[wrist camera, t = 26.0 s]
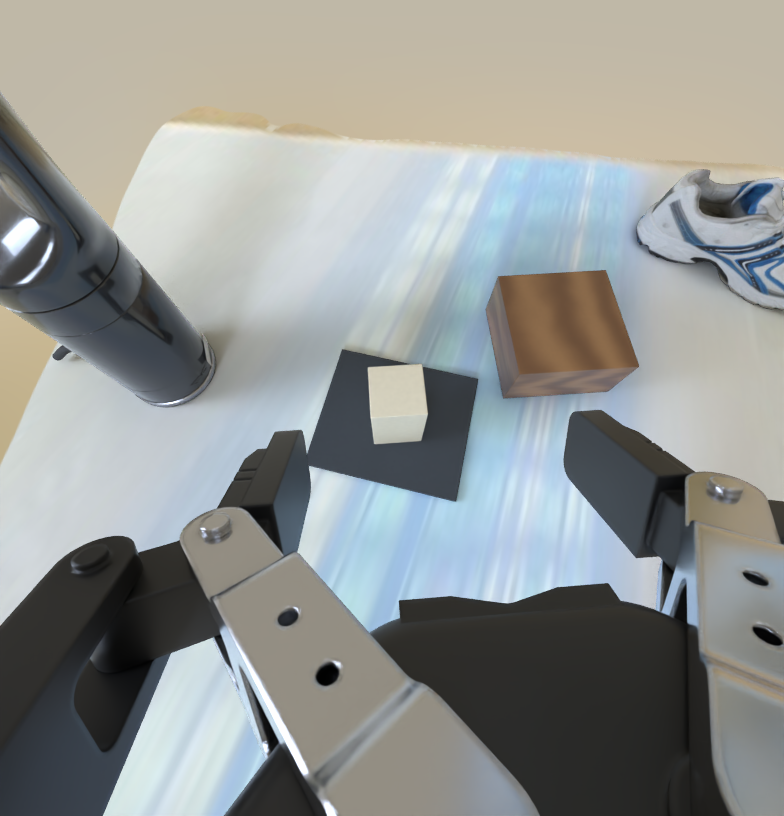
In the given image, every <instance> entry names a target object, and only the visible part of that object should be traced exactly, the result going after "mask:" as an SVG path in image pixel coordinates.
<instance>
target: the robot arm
mask: <svg viewBox="0 0 784 816" xmlns="http://www.w3.org/2000/svg"><path fill="white" fill-rule="evenodd" d="M0 305H3V306H4V307H6V308H7V309H9V310H10V311H12V312H13V313H15V314H16V315H18V316H19V317H21V318H22V319H24V320H25V321H27V322H28V323H30V324H31V325H33V326H34V327H36V328H37V329H39V330H40V331H42V332H44V333H45V334H47V335H48V336H50V337H51V338H53V339H54V340H56V341H57V342H59V343H60V344H62V346H61V347H60V348H58V349H57V350H56V352H55V353H54V354H53V358H54V359H55V360H61V359H62V358H64V357H65V356H66V354H68V353H70V352H73V353H75V354H76V355H78V356H79V357H81V358H82V359H84V360H85V361H87V362H88V363H90V364H91V365H93V366H94V367H96V368H97V369H99V370H100V371H102V372H103V373H105V374H106V375H108V376H109V377H111V378H112V379H114V380H115V381H117V382H118V383H120V384H121V385H122V386H124V387H125V388H127V389H128V390H130V391H131V392H133V393H134V394H135V395H136V396H138V397H139V398H140V399H142V400H143V401H145V402H147V403H149V404H151V405H154V406H160V407H170V406H176V405H180V404H183V403H185V402H188V401H190V400H191V399H193V398H195V397H196V396H197V395H199V394H200V393H201V392H202V391H203V390H204V389H205V388H206V387H207V385H208V384H209V382H210V381H211V379H212V377H213V374H214V371H215V365H216V360H215V355H214V352H213V350H212V348H211V347H210V345H209V344H208V343H207V338H206V337H205V336H204V334H203V333H202V336H203V338H202V337H201V336H200V335H199V333H198V332H197V331H196V330H195V329H194V327H193V326H192V325H191V324H190V322H189V321H188V320H187V319H186V318H185V316H184V315H183V314H182V313H181V312H180V310H179V309H178V308H177V307H176V306H175V304H174V303H173V302H172V301H171V300H170V298H169V297H168V296H167V295H166V294H165V292H164V291H163V290H162V289H161V288H160V286H159V285H158V284H157V283H156V282H155V280H154V279H153V278H152V277H151V276H150V274H149V273H148V272H147V271H146V270H145V268H144V267H143V266H142V265H141V264H140V262H139V261H138V260H137V259H136V258H135V257H134V255H133V254H132V253H131V252H130V251H129V249H128V248H127V247H126V246H125V245H124V243H123V242H122V241H121V240H120V239H119V237H118V236H117V235H116V234H115V233H114V231H113V230H112V229H111V228H110V227H109V226H108V225H107V223H106V222H105V221H104V220H103V219H102V218H101V216H100V215H99V214H98V213H97V212H96V211H95V209H93V207H92V206H91V205H90V204H89V203H88V201H87V200H86V199H85V198H84V197H83V196H82V195H81V194H80V192H79V191H78V190H77V189H76V188H75V186H74V185H73V184H72V183H71V182H70V180H69V179H68V178H67V177H66V176H65V174H64V173H63V172H62V171H61V170H60V169H59V167H58V166H57V165H56V164H55V162H54V161H53V160H52V159H51V157H50V156H49V155H48V154H47V152H46V151H45V150H44V148H43V147H42V146H41V144H40V143H39V142H38V140H37V139H36V138H35V137H34V135H33V134H32V133H31V131H30V130H29V129H28V127H27V126H26V125H25V123H24V122H23V121H22V119H21V118H20V117H19V115H18V114H17V113H16V112H15V110H14V109H13V108H12V106H11V105H10V104H9V102H8V101H7V100H6V98H5V97H4V96H3V94H2V93H1V92H0ZM564 468H565V472H566V474H567V476H568V478H569V479H570V480H571V482H572V483H573V484H574V485H575V486H576V488H577V489H578V490H579V491H580V492H581V493H582V495H583V496H584V497H585V498H586V499H587V501H588V502H589V503H590V504H591V505H592V506H593V508H594V509H595V510H596V511H597V512H598V514H599V515H600V516H601V517H602V518H603V519H604V521H605V522H606V523H607V524H608V525H609V527H610V528H611V529H612V530H613V531H614V532H615V534H616V535H617V536H618V537H619V538H620V540H621V541H622V542H623V543H624V544H625V545H626V547H627V548H628V549H629V550H630V551H631V553H632V554H633V555H634V556H635V557H636V558H644V557H656V556H659V557H660V558H661V559H662V561H661V564H660V567H659V571H658V584H657V599H656V610H654V609H651V608H648V607H645V606H642V605H638V604H634V603H629V602H624V601H620V599H619V598H618V597H617V595H616V594H615V592H614V591H613V589H612V588H611V587H610V585H609V584H608V583H605V584H593V585H580V586H568V587H557V588H554V589H551V590H549V591H546V592H543V593H540V594H537V595H534V596H531V597H528V598H525V599H523V600H520V601H517V602H514V603H508V604H506V603H497V602H490V601H482V600H475V599H468V598H460V597H453V596H448V597H436V598H424V599H412V600H400V601H399V610H400V618H399V619H396V620H393V621H391V622H388V623H386V624H384V625H382V626H380V627H378V628H377V629H375V630H373V631H372V632H370V633H369V632H368V631H367V630H366V629H365V628H364V626H363V625H362V624H361V623H360V622H359V621H358V620H357V618H356V617H355V616H354V615H353V614H352V613H351V612H350V611H349V609H348V608H347V607H346V606H345V605H344V604H343V603H342V602H341V600H340V599H339V598H338V597H337V596H336V595H335V594H334V593H333V591H332V590H331V589H330V588H329V587H328V586H327V585H326V583H325V582H324V581H323V580H322V579H321V578H320V577H319V576H318V574H317V573H316V572H315V571H314V570H313V569H312V568H311V567H310V565H309V564H308V563H307V562H306V561H305V560H304V559H303V558H302V556H301V555H300V554H298V553H297V551H298V546H299V542H300V538H301V533H302V529H303V525H304V520H305V516H306V512H307V507H308V503H309V499H310V492H311V481H310V472H309V466H308V460H307V453H306V447H305V440H304V435H303V432H302V430H292V431H278V432H275V433H274V435H273V437H272V439H271V441H270V443H269V445H268V447H267V449H257V450H256V451H255V452H253V453H252V454H251V455H250V456H248V457H247V458H246V459H245V460H244V462H243V463H242V465H241V467H240V469H239V472H237V474H236V476H235V478H234V481H232V483H231V485H230V486H229V488H228V490H227V492H226V493H225V495H224V497H223V499H222V500H221V502H220V504H219V506H218V507H217V509H214V510H211V511H208V512H206V513H204V514H202V515H200V516H198V517H197V518H195V519H194V520H192V521H191V522H190V523H189V524H188V525H187V526H186V527H185V528H184V529H183V531H182V532H181V535H180V540H179V541H177V542H173V543H170V544H167V545H163V546H160V547H156V548H153V549H149V550H146V551H142V552H139V553H138V551H137V549H136V546H135V544H134V542H133V541H132V539H130V538H128V537H124V536H111V537H106V538H102V539H98V540H95V541H92V542H90V543H87V544H85V545H83V546H81V547H79V548H77V549H75V550H74V551H72V552H70V553H69V554H67V555H66V556H64V557H63V558H62V559H61V560H60V561H58V562H57V563H56V564H55V565H54V566H53V568H52V569H51V570H50V571H49V572H48V573H47V574H46V575H45V576H44V578H43V579H42V580H41V581H40V582H39V583H38V584H37V585H36V587H35V588H34V589H33V590H32V591H31V592H30V593H29V594H28V595H27V597H26V598H25V599H24V600H23V601H22V602H21V603H20V604H19V606H18V607H17V608H16V609H15V610H14V611H13V612H12V613H11V614H10V616H9V617H8V618H7V619H6V620H5V621H4V622H3V623H2V625H1V626H0V816H103V814H104V811H105V809H106V807H107V804H108V802H109V800H110V797H111V795H112V792H113V790H114V788H115V785H116V783H117V780H118V778H119V776H120V773H121V771H122V769H123V766H124V764H125V761H126V759H127V757H128V754H129V752H130V749H131V747H132V745H133V742H134V740H135V738H136V735H137V733H138V730H139V728H140V726H141V723H142V721H143V718H144V716H145V714H146V711H147V709H148V707H149V704H150V702H151V699H152V697H153V695H154V692H155V690H156V687H157V685H158V683H159V680H160V678H161V676H162V673H163V671H164V668H165V666H166V664H167V661H168V659H169V656H170V654H171V653H172V652H175V651H178V650H180V649H183V648H186V647H189V646H191V645H194V644H197V643H199V642H202V641H205V640H207V639H210V638H213V641H214V643H215V645H216V647H217V649H218V652H219V654H220V656H221V658H222V660H223V662H224V665H225V667H226V669H227V671H228V673H229V676H230V678H231V680H232V682H233V684H234V686H235V689H236V691H237V693H238V695H239V697H240V699H241V702H242V704H243V706H244V709H245V711H246V713H247V716H248V718H249V721H250V724H251V726H252V729H253V731H254V734H255V736H256V739H257V741H258V744H259V746H260V748H261V751H262V753H263V755H264V757H265V760H266V761H265V762H264V763H263V765H262V766H261V767H260V769H259V770H258V771H257V773H256V774H255V775H254V777H253V778H252V779H251V781H250V782H249V783H248V785H247V786H246V787H245V789H244V790H243V791H242V793H241V794H240V795H239V796H238V798H237V799H236V800H235V802H234V803H233V804H232V806H231V807H230V808H229V810H228V811H227V812H226V814H225V815H224V816H784V502H783V501H774V500H767V498H766V496H765V495H764V493H763V492H762V491H760V490H759V489H758V488H756V487H755V486H753V485H751V484H749V483H747V482H745V481H743V480H741V479H738V478H735V477H732V476H729V475H725V474H720V473H714V472H695V471H693V470H692V469H690V468H689V467H688V466H686V465H685V464H683V463H682V462H680V461H679V460H678V459H676V458H675V457H673V456H672V455H671V454H669V453H668V452H666V451H663V450H662V448H661V447H659V446H658V445H656V444H655V443H652V441H651V440H649V439H648V438H646V437H645V436H644V435H642V434H641V433H639V432H637V431H635V430H633V429H630V428H628V427H625V426H623V425H622V424H620V423H619V422H617V421H616V420H615V419H613V418H612V417H611V416H609V415H608V414H606V413H605V412H604V411H602V410H592V411H577V412H573V413H572V414H571V416H570V419H569V425H568V432H567V439H566V446H565V452H564Z"/></svg>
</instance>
